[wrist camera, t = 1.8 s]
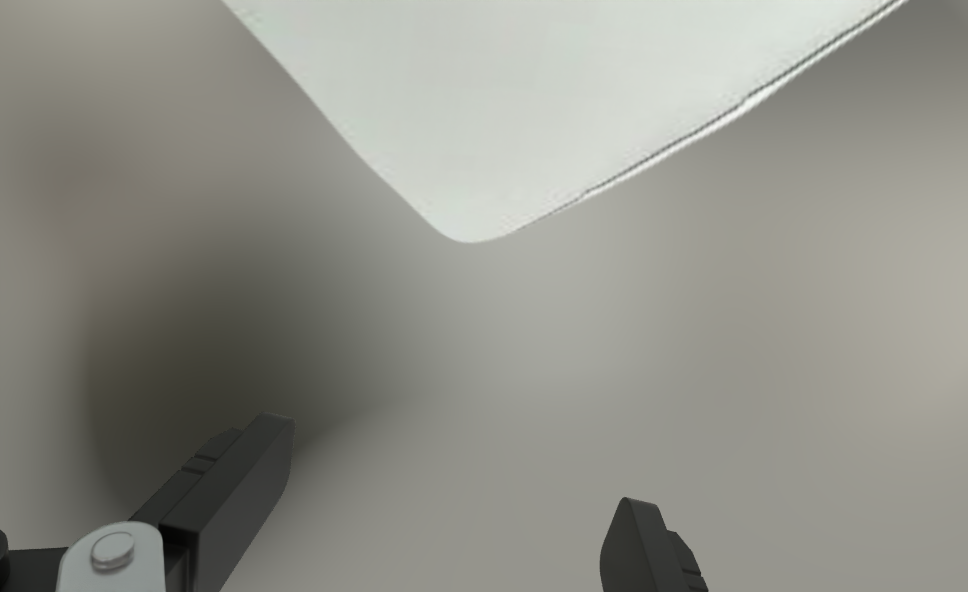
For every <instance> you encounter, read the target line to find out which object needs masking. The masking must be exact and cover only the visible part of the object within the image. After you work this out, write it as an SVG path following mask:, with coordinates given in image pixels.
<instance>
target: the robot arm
mask: <svg viewBox="0 0 968 592" xmlns="http://www.w3.org/2000/svg"><path fill="white" fill-rule="evenodd" d="M295 426H296V423H295V419H293V418H289V417H284V416H280V415H276V414H272V413H267V412H261V413H260V414H259V415H258V416H257V417H256V418H255V419H254V420H253V421H252V422H251V424H249V426H248V427H247V428H246V429H245V430H241V429H236V428H231V429H229V430H227V431H225V432H223V433H221V434H219V435H217V436H215V437H213V438H211V439H210V440H209V441H208V442H207V443H206V444H205V445H204V446H203V447H202V448H201V449H200V450H199V451H198V452H197V453H196V454H195V456H194V457H191V459H189V460H188V461H187V463H185V465H183V466H182V469H181V470H178V471H177V472H176V473H175V474H174V475H173V476H172V477H171V478H170V479H169V480H168V481H167V482H166V483H165V484H164V485H163V486H162V487H161V488H160V489H159V490H158V491H157V492H156V493H155V494H154V495H153V496H152V497H151V498H150V499H149V500H148V501H147V502H146V503H145V504H144V505H143V506H142V507H141V508H140V509H139V510H138V511H137V512H136V513H135V514H134V515H133V516H132V517H131V518H130V519H129V520H128V521H122V522H116V523H112V524H109V525H105V526H102V527H100V528H97V529H95V530H93V531H91V532H89V533H87V534H86V535H84V536H82V537H81V538H79V539H78V540H77V541H76V542H74V543H73V544H72V545H71V546H70V547H64V548H48V549H29V550H8V541H7V537H6V535H5V533H3V532H2V531H1V530H0V592H219V591H220V590H221V588H222V587H223V585H224V584H225V582H226V581H227V579H228V578H229V576H230V574H231V573H232V571H233V570H234V568H235V567H236V565H237V564H238V562H239V561H240V559H241V558H242V556H243V554H244V553H245V551H246V550H247V548H248V547H249V545H250V544H251V542H252V541H253V539H254V538H255V536H256V535H257V533H258V532H259V530H260V529H261V527H262V526H263V524H264V522H265V521H266V519H267V518H268V516H269V515H270V513H271V512H272V510H273V509H274V507H275V506H276V504H277V502H278V501H279V499H280V498H281V496H282V494H283V492H284V490H285V487H286V485H287V482H288V478H289V474H290V468H291V459H292V452H293V443H294V435H295ZM600 576H601V581H602V586H603V591H604V592H708V588H707V586H706V583H705V581H704V579H703V577H701V572H700V569H699V567H698V564H697V562H696V560H695V558H694V555H693V553H692V551H691V550H690V549H689V548H688V546H687V545H686V544H685V543H684V542H683V540H682V539H681V538H680V536H679V535H678V534H677V533H676V532H672V531H669V530H667V529H666V526H665V524H664V521H663V518H662V516H661V513H660V511H659V508H658V507H657V505H655V504H652V503H648V502H644V501H639V500H635V499H631V498H626V497H624V498H622V499H621V501H620V503H619V505H618V507H617V510H616V513H615V515H614V517H613V520H612V523H611V525H610V528H609V530H608V533H607V535H606V538H605V540H604V543H603V546H602V550H601V555H600Z"/></svg>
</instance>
